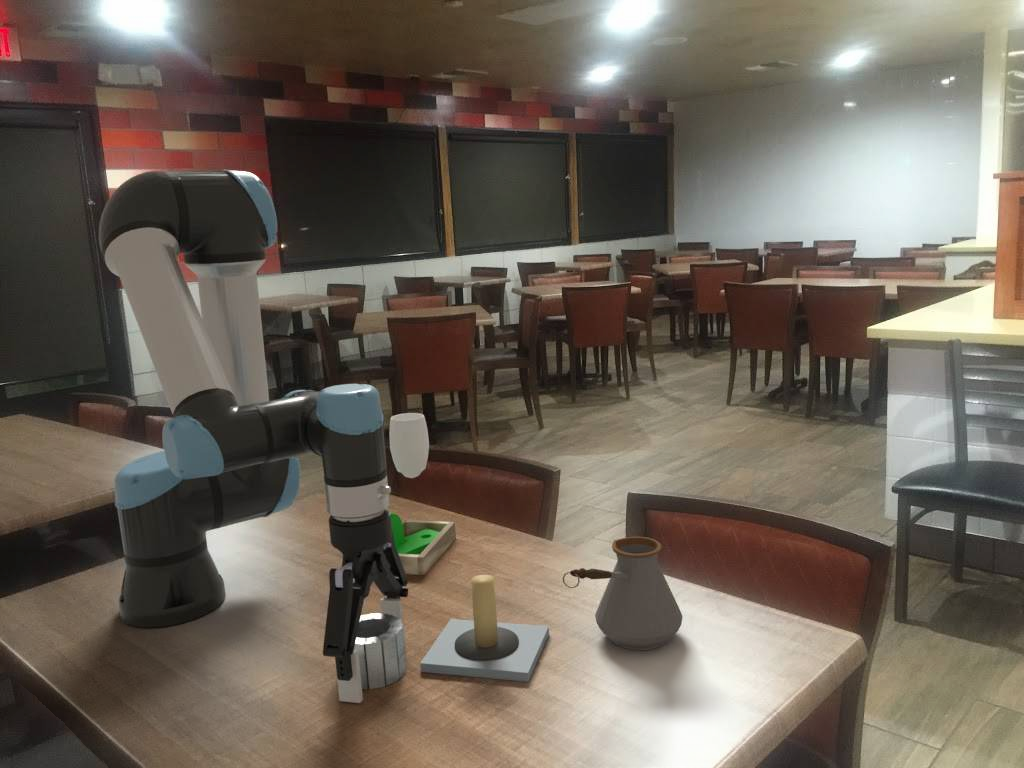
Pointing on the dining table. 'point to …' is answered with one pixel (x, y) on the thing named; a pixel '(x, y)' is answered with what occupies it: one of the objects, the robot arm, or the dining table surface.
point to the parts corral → (433, 550)
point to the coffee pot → (635, 597)
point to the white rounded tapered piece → (409, 443)
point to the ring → (380, 650)
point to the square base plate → (486, 642)
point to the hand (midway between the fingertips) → (374, 671)
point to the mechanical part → (410, 538)
